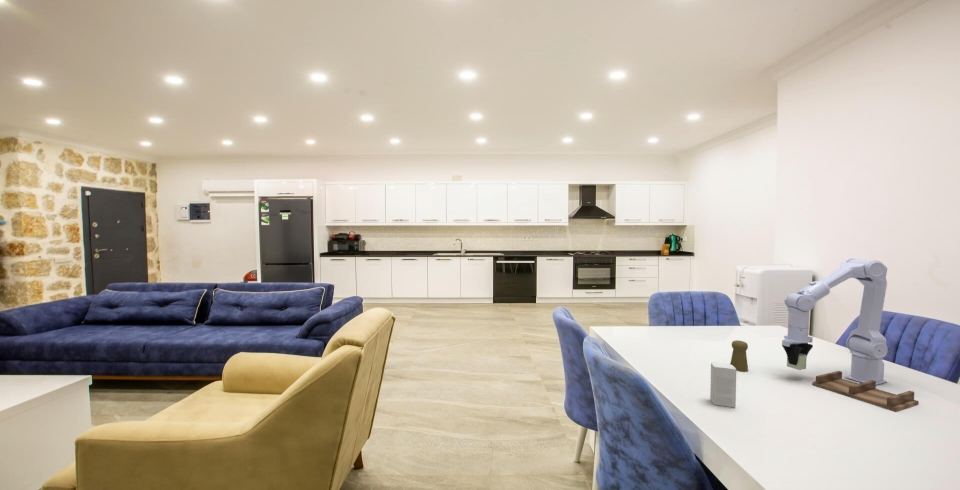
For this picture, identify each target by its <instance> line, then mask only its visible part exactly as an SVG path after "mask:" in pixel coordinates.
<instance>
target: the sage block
mask: <svg viewBox="0 0 960 490" xmlns="http://www.w3.org/2000/svg"><path fill="white" fill-rule="evenodd" d="M807 357H808V355H805V354H801V353H800V354H799V357H798V362H797V365H793V364H789V361H788V357H787V356H786V368H787V367H788V368H791V369H795V370H798V371H801V370H805V369H807Z"/></svg>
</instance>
